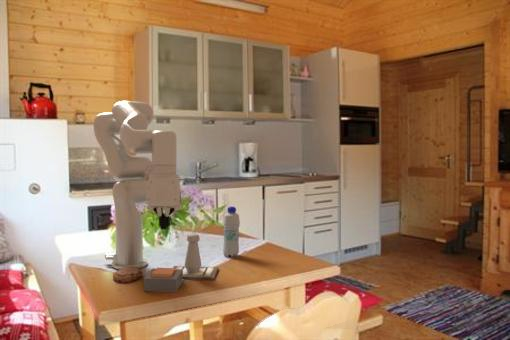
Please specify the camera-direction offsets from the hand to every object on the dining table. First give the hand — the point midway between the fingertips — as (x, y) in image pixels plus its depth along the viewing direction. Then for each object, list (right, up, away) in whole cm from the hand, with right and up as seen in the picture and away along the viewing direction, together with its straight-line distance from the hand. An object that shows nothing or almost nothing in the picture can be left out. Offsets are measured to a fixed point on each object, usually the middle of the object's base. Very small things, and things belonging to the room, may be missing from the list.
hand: (164, 228), depth 137 cm
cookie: (-14, -18, +9) cm, 25 cm away
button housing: (0, -19, +2) cm, 19 cm away
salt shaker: (+7, -17, +14) cm, 23 cm away
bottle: (+19, -16, +38) cm, 45 cm away
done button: (0, -17, +1) cm, 17 cm away
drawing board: (+7, -18, +14) cm, 24 cm away
